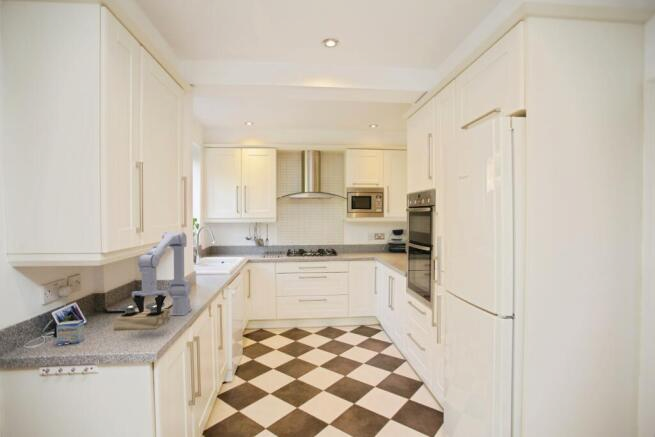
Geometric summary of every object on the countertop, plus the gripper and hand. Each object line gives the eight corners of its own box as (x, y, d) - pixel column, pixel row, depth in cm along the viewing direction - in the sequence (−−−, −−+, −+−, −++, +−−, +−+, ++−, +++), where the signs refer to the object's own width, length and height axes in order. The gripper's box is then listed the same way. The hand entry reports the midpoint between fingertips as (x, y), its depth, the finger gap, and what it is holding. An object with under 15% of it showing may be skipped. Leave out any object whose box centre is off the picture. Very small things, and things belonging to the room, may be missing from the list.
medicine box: (56, 346, 124) (55, 325, 124) (62, 341, 129) (62, 321, 128) (79, 343, 126) (78, 322, 126) (84, 339, 131) (84, 319, 131)
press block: (131, 319, 153) (131, 309, 153) (169, 318, 154) (169, 309, 153) (114, 329, 140) (113, 319, 140) (155, 329, 141) (155, 318, 140)
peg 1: (127, 312, 151) (126, 302, 150) (143, 311, 151) (143, 302, 151) (116, 317, 143) (116, 307, 142) (133, 317, 143) (133, 307, 143)
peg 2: (151, 311, 151) (151, 302, 151) (167, 311, 151) (167, 301, 151) (142, 317, 143) (141, 307, 143) (159, 316, 143) (159, 307, 143)
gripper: (126, 284, 129) (127, 315, 130) (161, 283, 130) (162, 315, 130) (136, 280, 136) (137, 310, 137) (169, 279, 137) (170, 309, 137)
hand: (150, 312), depth 134 cm, fingers open, 7 cm apart
